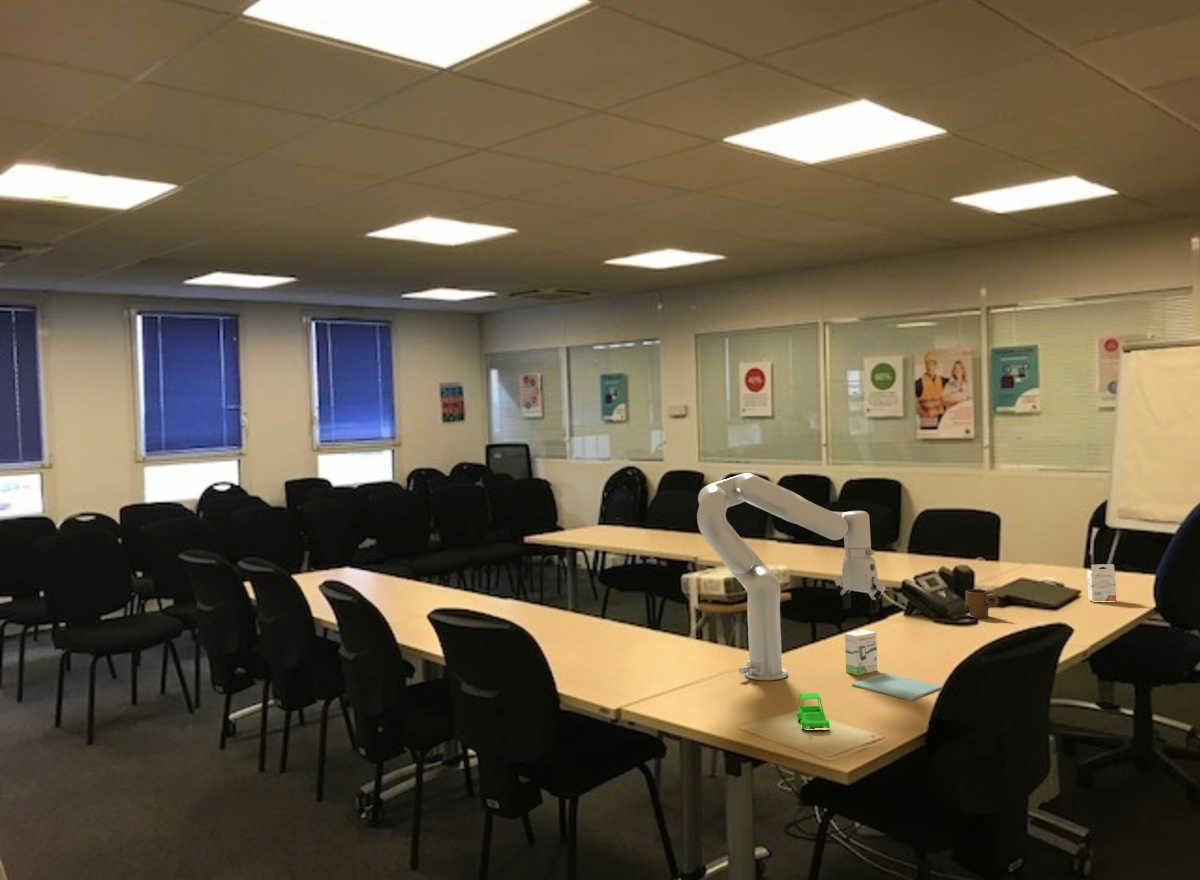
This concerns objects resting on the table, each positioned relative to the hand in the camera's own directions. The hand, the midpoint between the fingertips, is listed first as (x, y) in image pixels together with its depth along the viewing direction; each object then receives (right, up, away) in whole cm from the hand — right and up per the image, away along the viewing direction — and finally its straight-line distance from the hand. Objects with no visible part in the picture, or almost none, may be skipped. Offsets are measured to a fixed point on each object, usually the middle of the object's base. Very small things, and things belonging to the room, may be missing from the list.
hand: (860, 610), depth 274 cm
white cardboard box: (0, -19, +1) cm, 19 cm away
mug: (+62, -14, +61) cm, 88 cm away
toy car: (-24, -21, -43) cm, 54 cm away
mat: (+6, -19, -16) cm, 25 cm away
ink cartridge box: (+114, -12, +79) cm, 139 cm away
